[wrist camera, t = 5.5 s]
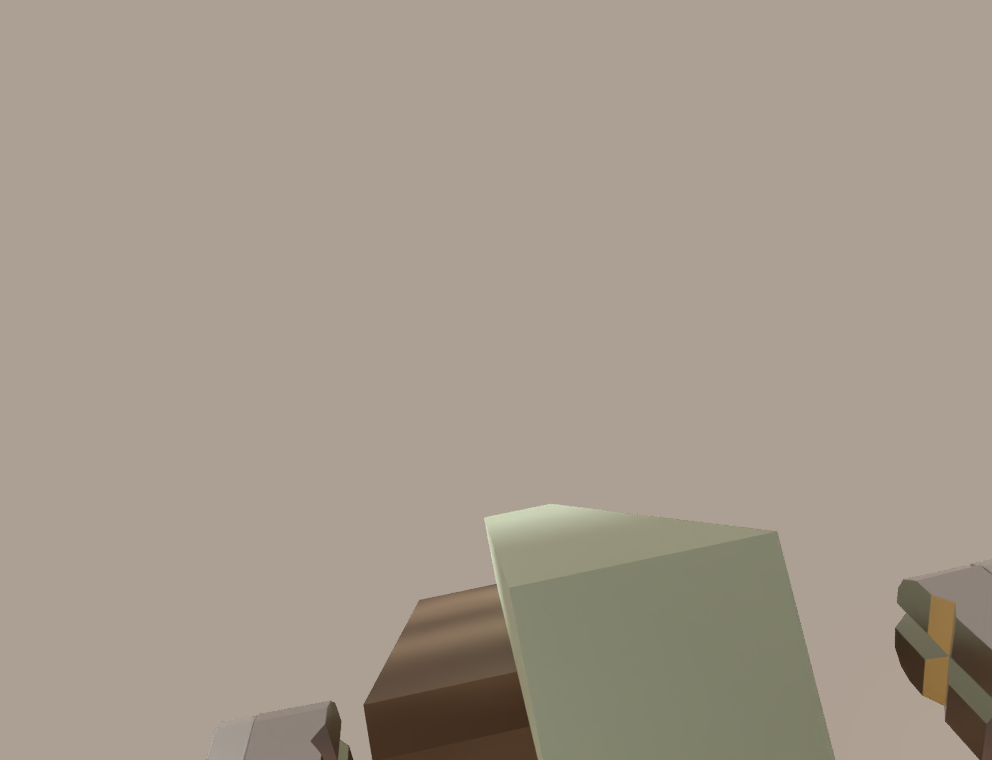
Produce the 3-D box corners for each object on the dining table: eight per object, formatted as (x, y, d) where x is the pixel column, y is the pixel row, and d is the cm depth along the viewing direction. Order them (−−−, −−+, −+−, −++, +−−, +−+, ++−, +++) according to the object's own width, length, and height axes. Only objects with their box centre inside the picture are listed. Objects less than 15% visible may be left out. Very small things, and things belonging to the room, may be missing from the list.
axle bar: (850, 821, 7) (777, 531, 8) (568, 889, 7) (509, 587, 8) (565, 572, 31) (550, 503, 32) (497, 586, 31) (483, 517, 31)
